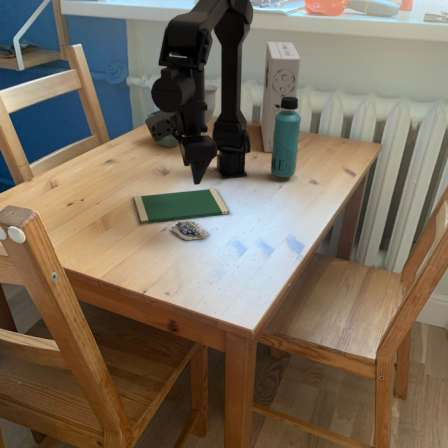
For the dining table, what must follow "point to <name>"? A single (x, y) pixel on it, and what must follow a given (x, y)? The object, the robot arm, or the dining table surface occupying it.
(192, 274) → the dining table surface
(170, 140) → the flower pot
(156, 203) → the green flat rectangular block
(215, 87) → the chalice
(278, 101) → the cereal box
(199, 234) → the blueberries
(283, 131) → the beverage bottle
